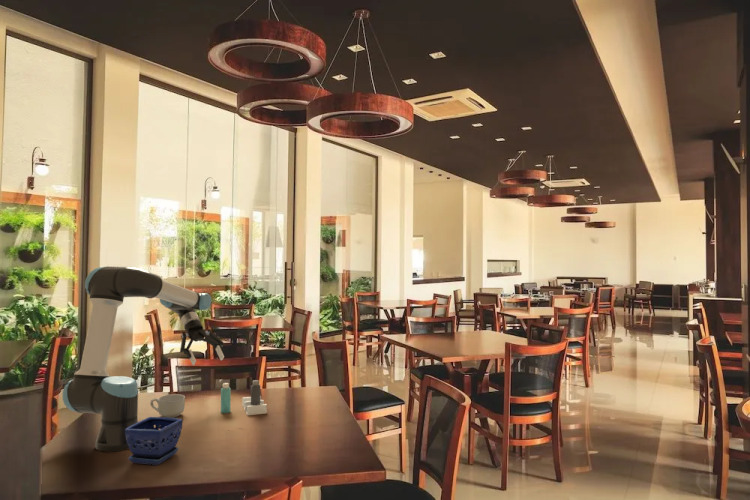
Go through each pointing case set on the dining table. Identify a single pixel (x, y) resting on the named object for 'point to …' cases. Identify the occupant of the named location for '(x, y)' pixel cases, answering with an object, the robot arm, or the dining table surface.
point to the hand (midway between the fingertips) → (208, 361)
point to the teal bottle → (225, 398)
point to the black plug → (255, 393)
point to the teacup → (169, 405)
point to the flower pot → (153, 439)
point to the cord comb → (253, 406)
